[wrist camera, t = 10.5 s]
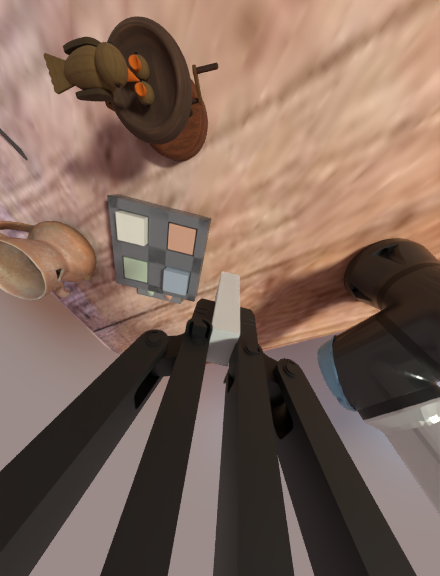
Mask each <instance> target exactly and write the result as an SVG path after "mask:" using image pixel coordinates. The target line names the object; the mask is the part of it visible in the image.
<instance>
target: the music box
mask: <svg viewBox="0 0 440 576" xmlns="http://www.w3.org/2000/svg"><path fill="white" fill-rule="evenodd" d="M63 48H64V52H65V53H66V54H68V55H69V56H68V58H67V59H66V61H65V60H63V59H60V58H57V57H55V56H52V55H49V54H46V53H44V58H45V60H46V62H47V63H46V65H47V68H48V69H49V75H50V76H51V81H52V84H53V85H54V91H55V92H56V93H57V94H61V93H62V92H64V91H66V90H68V89H70V88H72V87H74V86H77V87H78V88H80V89H82V91H78V92H76V97H77V98H78V99H79V100H85V101H105V103H106V106H107V107H108V108H109V109H111V110H113V111H115V112H116V114H117V116H118V117H119V119H120V120H121V122H122V123H123V124H124V126H125V127H126V128H127V129H128V130H129V131H130V132H131V133H132V134H133V135H135V136H136V137H137V138H139V139H141V140H142V141H144V142H147V143H150V145H151V146H152V147H153V148H154V149H155V150H156V151H157V152H158V153H160V154H161V155H163V156H165V157H167V158H170V159H173V160H177V161H184V160H188V159H190V158H192V157H194V156H195V155H196V154H197V153H198V152H199V151H200V149H201V148H202V146H203V144H204V142H205V139H206V135H207V129H208V119H207V112H206V108H205V105H204V102H203V100H202V97H201V92H200V86H199V80H198V74H200V73H204V72H208V71H212V70H216V69H218V64H217V63H213V64H209V65H205V66H201V67H197V68H196V65H192V68H193V74H194V80H195V84H194V82H193V81H192V80H191V79H190V74H189V70H188V67H187V64H186V61H185V58H184V56H183V54H182V52H181V50H180V48H179V46H178V45H177V43H176V42H175V40H174V39H173V37H172V36H171V35H170V34H169V33H168V32H167V31H166V30H165V29H164V28H163V27H162V26H161V25H159V24H158V23H156V22H155V21H153V20H151V19H148V18H145V17H130V18H127V19H125V20H123V21H122V22H120V23H119V24H118V25H117V26H116V27H115V28H114V30H113V31H112V33H111V35H110V37H109V39H108V41H107V42H102V43H101V42H99V41H98V40H96V39H94V38H91V37H82V38H78V39H75V40H72V41H70V42H68V43H66V44H65V45H63Z"/></svg>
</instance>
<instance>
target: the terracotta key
mask: <svg viewBox="0 0 440 576" xmlns="http://www.w3.org/2000/svg"><path fill="white" fill-rule="evenodd" d="M197 230H198V229H196V228H192V227H188V226H184V225H180V224H176V223H172V222H171V223H169V236H168V249H170V250H174V251H178V252H182V253H186V254H190V255H193V253H194V250H195V243H196V237H197Z"/></svg>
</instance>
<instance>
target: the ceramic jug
mask: <svg viewBox="0 0 440 576" xmlns="http://www.w3.org/2000/svg"><path fill="white" fill-rule="evenodd" d="M3 229H12V230H21V231H28V232H29V235H28V239H21V238H9V237H7V236H5V235H3V234H1V233H0V289H2V290H3V291H5V292H6V293H9V294H11V295H13V296H14V297H17V298H20V299H24V300H38V299H40V298H42V297H44V296H45V295H47V294H48V293H50V292H51V291H52V290H53V291H55V293H56V294H57V295H58V296H60V297H62V298H67V296H69V295H70V292H69V291H67V290H66V289H65V288H64V286H63V282H62V280H64V281H70V282H77V281H82V280H89V279H91V277H92V275H93V272H94V270H95V267H96V256H95V253H94V250H93V248H92V246H91V245H90V243H89V242H88V241H87V239H86V238H85V237H84V236H83V235H82V234H81V233H79V232H78V231H77V230H75V229H74V228H72V227H70V226H68V225H66V224H63V223H60V222H55V221H45V222H41V223H38V224H37V225H34V226H33V225H28V224H24V223H19V222H11V221H0V230H3Z"/></svg>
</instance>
